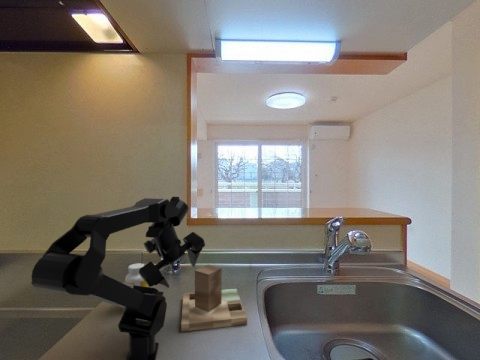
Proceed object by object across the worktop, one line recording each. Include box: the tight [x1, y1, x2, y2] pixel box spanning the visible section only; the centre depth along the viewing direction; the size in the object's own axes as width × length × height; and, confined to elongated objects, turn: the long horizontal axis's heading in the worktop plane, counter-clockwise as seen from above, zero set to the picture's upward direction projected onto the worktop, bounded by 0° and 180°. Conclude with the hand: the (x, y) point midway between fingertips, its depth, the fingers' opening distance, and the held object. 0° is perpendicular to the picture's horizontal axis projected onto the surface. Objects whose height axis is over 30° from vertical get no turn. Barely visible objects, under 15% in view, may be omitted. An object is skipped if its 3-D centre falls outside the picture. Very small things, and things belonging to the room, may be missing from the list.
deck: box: [180, 288, 248, 333], centre depth 78 cm, size 18×18×2 cm
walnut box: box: [194, 264, 223, 312], centre depth 78 cm, size 6×6×11 cm
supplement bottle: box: [124, 262, 149, 288], centre depth 81 cm, size 7×7×13 cm
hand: (181, 276), depth 76 cm, fingers open, 9 cm apart
